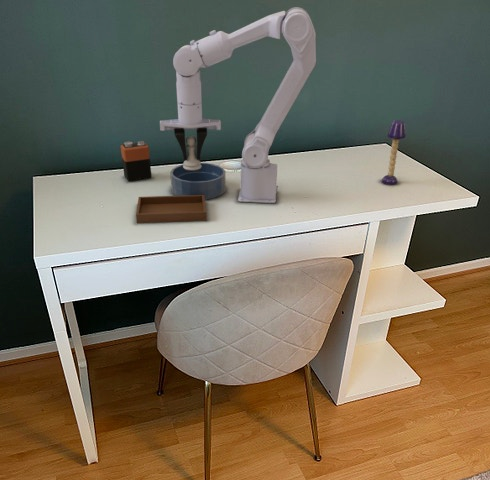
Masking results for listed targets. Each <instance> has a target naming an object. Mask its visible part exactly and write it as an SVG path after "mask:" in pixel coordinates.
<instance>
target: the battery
mask: <svg viewBox="0 0 490 480" xmlns="http://www.w3.org/2000/svg"><path fill="white" fill-rule="evenodd" d="M120 152H121V161H122V168H123V177H124V178H125V179H126V180H127V182H135V181H141V180H147V179H148V180H149V179H152V168H151V155H150V147H149V145H148V144H147V143H146V142H144V140H139V141H137V142H134V143H133V142H132V141H125V142H124V143H123V144H121V145H120Z"/></svg>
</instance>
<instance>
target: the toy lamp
mask: <svg viewBox="0 0 490 480" xmlns="http://www.w3.org/2000/svg"><path fill="white" fill-rule="evenodd" d="M387 137H388V138H389V139H392V143H391V149H390V155H389V161H388V171H387V174H386V175H384V176H383V177H382V179H381V183H382V184H383V185H388V186H395V185H397V184H398V179H397V177H396V176H395V170H396V166H395V165H397V164H396V163H397V157H398V155H397V154H398V148H399V142H400V140H403V139H405V138H406V123H405V121H403V120H400V119H395V120H393V121H392V122H391V125H390V127H389V130H388V132H387Z"/></svg>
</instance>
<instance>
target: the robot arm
mask: <svg viewBox="0 0 490 480" xmlns="http://www.w3.org/2000/svg"><path fill="white" fill-rule="evenodd" d="M208 34H209V35H208V36H206V37H203V38H201V39H198V40H195V39H192V40H191V41H189V44H185V45H184V46H182V47H180V48H179V49H178V50H176V52H175V54H174V55H173V59H172V64H173V68H174V70H175V72H176V74H175V76H176V82H175V87H176V102H177V103H176V104H177V118H176V119H164V120H159V130H160V131H161V132H165V131H173V132H174V133H173V134H174V137H175V139H176V141H177V142H178V145H179V146H180V149H181V153H182V156H183V161H186V160H187V157H188V152H187V148H186V146H187V145H186V134H185V132H186V131H188V130H189V131H190V130H196V146H197V147H196V158H197V160H199V161H200V160H201V153H202V150H203V146H204V143H205V140H206V138H207V136H208V130H216V131H221V130H222V122H221V119H212V118H211V119H208V118H203V103H202V101H203V100H202V81H201V69H200V68H203V69H207V68H208V67H211V66H214V65H215V64H218V63H221V62H223V61H226V60H228V59H230V58H231V57H232V55H233V53H234V50H235V49H237V48H240V47H243V46H246V45H248V44H250V43H253V42H256V41H259V40H261V39H265V38H266V37H269V38H273V39H277V40H281V34H282V37H284V39H285V41H286V43H287V44H288V46H289V47H290V51H291V55H292V59H293V60H292V62H291V64H290V66H289V68H288V69H287V71H286V73H285V75H284V77H283V79H282V80H281V82H280V84H279V86H278V88H277V90H276V91H275V93H274V95H273V97H272V99H271V101H270V102H269V104H268V106H267V108H266V110H265V112H264V113H263V115H262V117H261V118H260V120H259V122H258V123H257V124H256V126H255V128H254V129H253V130H252V131H251V132H249V133H248V134H247V135H246V136H245V138H244V141H243V148H242V152H241V158H242V159H241V161H240V188H239V193H238V199H237V201H238V203H239V202H240V203H259V204H260V203H265V204H275V203H276V202H277V193H278V187H279V185H277V182H278V164H277V163H272V162H271V161H270V159H269V152H270V151H269V150H270V148H271V146H272V144H273V142H274V140H275V138H276V134H277V133H278V131H279V129H280V127H281V125H282V124H283V122H284V120H285V119H286V117H287V115H288V113H289V111H290V110H291V108H292V106H293V105H294V103H295V101H296V99H297V98H298V96H299V94H300V92H301V91H302V89H303V87H304V86H305V84H306V82H307V80H308V78H309V77H310V75H311V73H312V71H313V70H314V68H315V66H316V63H317V48H316V47H317V45H316V44H317V43H316V36H317V33H316V30H315V26H314V24H313V21H312V19H311V17H310V15H309V12H308V11H307V10H305V9H304V8H302V7H298V6H295V7H291V8H290V9H288V10H287V11H286V10H282V11H278V12H275V13H272V14H269V15H266V16H264V17H263V18H259V19H258V20H256V21H253V22H251V23H249V24H248V25H246V26H243V27H241V28H239V29H237V30H235V31H233V32H230V33H226V32H225V31H222V30H219V31H217V30H216V29H213V30H211V31H209V33H208ZM185 130H186V131H185Z"/></svg>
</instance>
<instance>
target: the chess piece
mask: <svg viewBox="0 0 490 480" xmlns="http://www.w3.org/2000/svg"><path fill="white" fill-rule="evenodd" d="M185 144H187V145H185V146H186V150H187V160H183V164H184V165H183V168H184V169H186V170H191V171H193V170H198V169H200V168H201V167H202V166H201V163H202V162H201V161H200V160H197V154H196V149H197V137H195V136H194V135H189V136H187V137H185Z"/></svg>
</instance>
